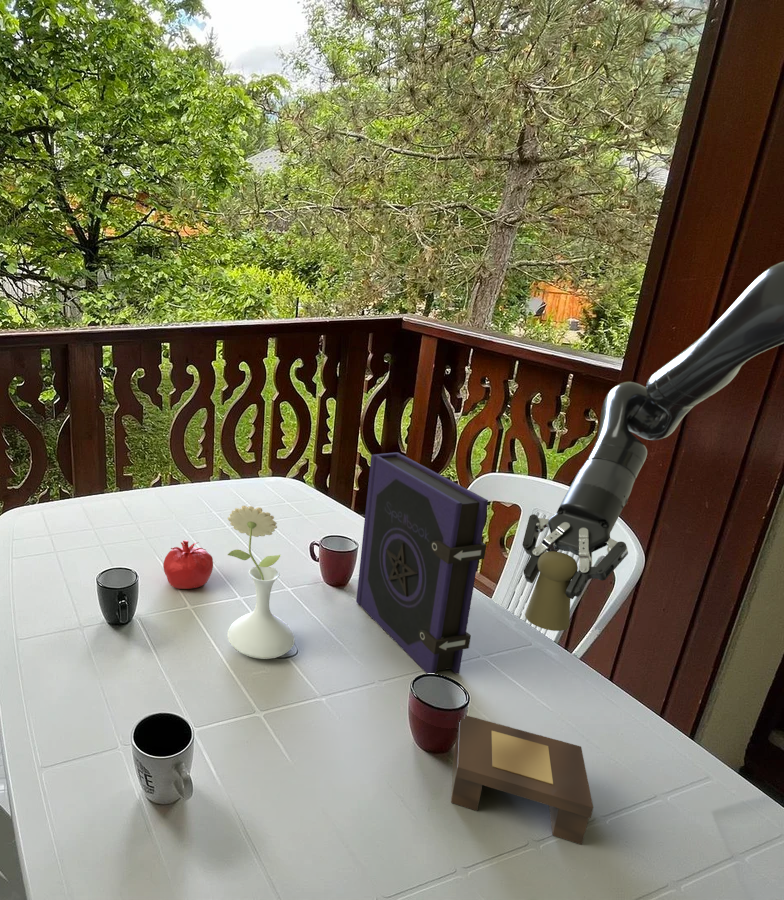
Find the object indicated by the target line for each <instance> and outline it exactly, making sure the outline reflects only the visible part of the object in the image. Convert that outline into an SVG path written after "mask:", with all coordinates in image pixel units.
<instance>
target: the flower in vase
mask: <svg viewBox="0 0 784 900" xmlns="http://www.w3.org/2000/svg"><path fill="white" fill-rule="evenodd" d="M274 519H275V516H274V515H271V513H270V512H269V511H266V512H264V511H263V508H262V507H260V506H259V507H257V508H255V507H254V506H251V505H250V506H248V507H247V505H242V506H241V507H240V508H238V507H235V508H234V510H231V513H230V514H229V516H228V517H227V521H229V522H230V523H229V524H230V526H232V528H233V530H235V531H238V532H239V533H240V534H245V535H246V536H248V537H249V540H248V552H245V551H244V550H242V549H233V550H231V551H230V552H228V553H227V556H230V557H234V558H237V559H238V560H241V561H247V560H249V559H250V558H251V560H252V562H253V564H254V565H255V566H254V567H252V568H250V569H249V570H248V575H249V577H250V578H251V580H252V581H253V584H254V589H255V606H254V609H253V610H252V611H251V612H248V613H246V614H243V615H242V616H240V617H238V618H237V619H236V620H234V621H233V622H232V623H231V625H230V626H229V628H228V630H227V633H226V634H227V636H226V637H227V640H228V642H229V643H230V645H231V647H233V648H234V650H236V651H237V652H238V653H240V654H242V655H244V656H247V657H250V658H254V659H261V660H269V659H275V658H279V657H282V656H284V655H286V654H288V652H289V651H290V650H291V649H292V648H293V647H294V644H295V641H296V639H295V634H294V632H293V629H292V628H291V627H290V625H289V624H288V623H287V622H285V621H284V620H283V619H281V618H280V617H278V616H277V615H275V614H274V613H273V612H272V611H271V609H270V598H271V592H272V588H273V585H274V583H275V582H276V580H277V579H279V577H280V572H279V571H278V569H276V568H274V567H272V565H275V564H276V562H278V561H279V559H280V558H281V556H282V554H276V555H267V556H265V557H264V558H263V559H261V561H259V563H258V562H257V561H256V560H255V558H254V556H253V554H252V550H251V549H252V537H255V538H259V537H265V536H271V535H273V532H275V529H277V528H278V526H277V524H278V523H277V522H276V521H275V520H274Z"/></svg>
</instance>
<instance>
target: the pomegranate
mask: <svg viewBox="0 0 784 900" xmlns="http://www.w3.org/2000/svg"><path fill="white" fill-rule="evenodd" d="M189 543H190V541H189V540H187V539H183V540H182V541H180V545H181V547H179V546H175V547H170V549H171V550H170V551H169V552H168V553H167V554H166V556H165V558H164V560H163V565H162V567H163V572H164V574H165V576H166V579H167V583H169V585H170V586H171V587H173V588H175V589H179V590H181V589H182V590H189V589H190V590H191V589H197V588H200V587H203V586H205V585H206V583H208V581H209V579H210V578H211V576H212V573H213V570H214V569H213V568H214V559H213V556H212V555H211V554H210V553H209V552H208V551H207V549H205V548H203V547H195V546H196V545H197V544H200V542H199V541H198V542H194V543H192V544H191V545H190V546H189Z"/></svg>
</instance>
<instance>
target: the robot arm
mask: <svg viewBox="0 0 784 900" xmlns="http://www.w3.org/2000/svg"><path fill="white" fill-rule="evenodd" d="M783 344H784V260H783V261H781V262H778V263H775V264H773V265H771V266H769V267H768V268H767V269H766V270H764V271H763V272H762V273H761V274H759V275H758V276H757V277H756V278H755V279H754V280H753V281H752V282H751V283H750V284H748V286H747V287H746V288H745V289H744V290H743V291H742V293H741V294H739V296H738V297H737V298H736V299H735V301H733V303H732V304H731V305H730V306H729V307H728V308H727V309H726V311H725V312H723V314H722V315H721V316H720V317H718V319H717V320H716V321H715V322H714V323H713V324H712V325H711V326H710V327H709V328H708V329H707V330H706V331H705V332H704V333H703V334H702V335H700V337H699V338H698V339H696V340H695V341H694V342H693V343H692V344H690V345H689V346H688V347H687V348H685V349H684V350H683V351H681V352H680V353H679V354H677V355H676V356H674V357H673V358H672V359H671V360H669V361H668V362H667V363H665V364H663V365H662V366H661V367H659V369H657V370H656V371H655V372H653V374H651V375H650V377H649V378H648V379H647V382H646V386H644V385H643V384H640V383H638V382H635V381H623V382H621V383H619V384H616V385H615V386H614V387H612V388H611V389H610V390H609V391H608V393H606V396H605V398H604V400H603V403H602V405H601V410H600V418H599V426H598V431H597V436H596V440H595V443H594V445H593V447H592V449H591V450H590V453H589V454H588V456H587V458H586V460H585V462H584V463H583V465H582V466H581V468H580V469H579V470H578V472H577V473H576V475H575V477H574V478H573V481H572V482H571V484H570V486H569V488H568V490H567V492H566V494H565V495H564V498H563V499H562V501H561V503H560V505H559V507H558V508H557V510H556V513H555V514H554V515H552V516H551V517H550V518H543V517H539V516H538V515H537V514H535V513H534V514H530V515H529V517H528V520H527V524H526V528H525V532H524V536H523V540H522V548H523V549H524V551H525V553H526V554H527V555H529V556H530V557H529V559H528V561H527V563H526V565H525V567H524V568H523V575H524V579H525V580H526V582H528V583H530V584H533V583H534V582H535V580H536V578H537V576H538V575H539V573H540V572H539V570H538V565H537V563H538V559H539V557H540V556H541V555H542V554H543V553H545V552H550V551H555V552H560V551H563V552H570V553H572V554H573V555H575V556H577V557H578V559H579V561H578V562H579V566H578V570H577V571H576V572H575V574H574V576H573V578H572V579H571V582H570V584H569V586H568V587H567V589H566V596H567V597H568V598H570V600H574V598H575V597H577V598H579V597H580V596H581V595H582V593H583V591H584V589H585V587H586V585H587V584H588V581H589V580H591V579H597V580H599V581H606V580H607V579H608V578H609V576H610V575H611V574H612V573H613V572H614V571H615V570H616V568H617V567H618V566H619V565H620V564H621V563H622V562H623V560H624V559H626V557H627V556H628V555H629V551H628V546H627V543H626V542H624V541H617V540H615V539H613V538H611V533H612V530H613V529H614V527H615V525H616V523H617V521H618V519H619V517H620V515H621V513H622V511H623V509H624V507H625V506H626V505H627V503H628V501H629V497H630V495H631V493H632V490H633V487H634V484H635V481H636V479H637V477H638V475H639V473H640V471H641V469H642V467H643V466H644V463H645V462H646V459H647V456H648V449H647V447H646V445H645V444H644V443H643V442H642V441H640V439H638V438H637V436H638V437H640V438H642V439H644V440H649V441H660V440H664V439H666V438H668V437H669V436H671V435H672V434H673V433H674V432H675V430H676V429H678V427H679V425H680V423H681V421H682V420H683V419H684V417H685V416H686V415H687V414H688V413H689V412H690V411H691V410H692V409H693V408H694V407H695V406H697V405H698V404H700V403H701V402H703V401H705V400H707V399H708V398H709V397H711V396H713V395H715V394H716V393H717V392H719V391H721V390H722V389H723V388H725V387H726V386H728V384H730V383H732V380H733V379H734V378H735V377H736V376H737V374H739V371H740V370H741V368H742V366H743V365H745V364H746V362H748V361H749V360H751V359H753V358H754V357H756V356H758V355H760V354H762V353H765V352H766V351H769V350H771V349H773V348H775V347H779V346H781V345H783ZM635 435H636V436H635ZM546 528H548V529H549V532H550V533H549V534H548V535H547V536H546V537H544V538H543V539H542V541H541V543H539V544H538V545H537V542H538V537H539V534H540V533H542V532H544V531H545V529H546ZM604 547H607V548H606V555H605V556H604V557H603V558H602V559H601V560H600V562H599V563H598V564H597V565H596V566H593V553H594V552H596V551H598V550H600V549H602V548H604Z"/></svg>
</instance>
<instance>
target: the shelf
mask: <svg viewBox="0 0 784 900" xmlns="http://www.w3.org/2000/svg"><path fill="white" fill-rule="evenodd" d="M465 715H466V717H465V719H462V720H460V722H459V721H458V723H459V727H458V726H457V730H458V732H457V731H456V736H457V738H456V737H455V741H454V742H455V743H454V749H453V757H452V758H453V759H452V774H451V776H452V777H451V794H450V803H451V804H453V805H456V806H460V807H464V808H466V809H470V810H473V811H475V812H478V809H479V804H480V799H481V795H482V790H483V786H485V787H487V788H491V789H494V790H497V791H500V792H504V793H506V794H511V795H514V796H518V797H520V798H522V799H523V798H524V799H526V800H527V799H528V800H530V801H533V802H537V803H540V804H543V805H547V806H548V810H549V818H550V826H551V834H552V836H553V837H556V838H559V839H562V840H565V841H569V842H572V843H575V844H577V845H581V846H582V845H583V843H584V838H585V834H586V830H587V827H588V824H589V819H591V818H592V814H593V812H594V805H593V799H592V794H591V789H590V783H589V779H588V775H587V769H586V765H585V764H586V763H585V758H584V753H583V748H582V746H581V745H577V744H573V743H569V742H567V741H563V740H559V739H555V738H551V737H547V736H544V735H541V734H537V733H533V732H530V731H525V730H522V729H518V728H515V727H510V726H507V725H504V724H500V723H496V722H492V721H488V720H484V719H481V718H478V717H474V716H470V715H467V714H465Z"/></svg>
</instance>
